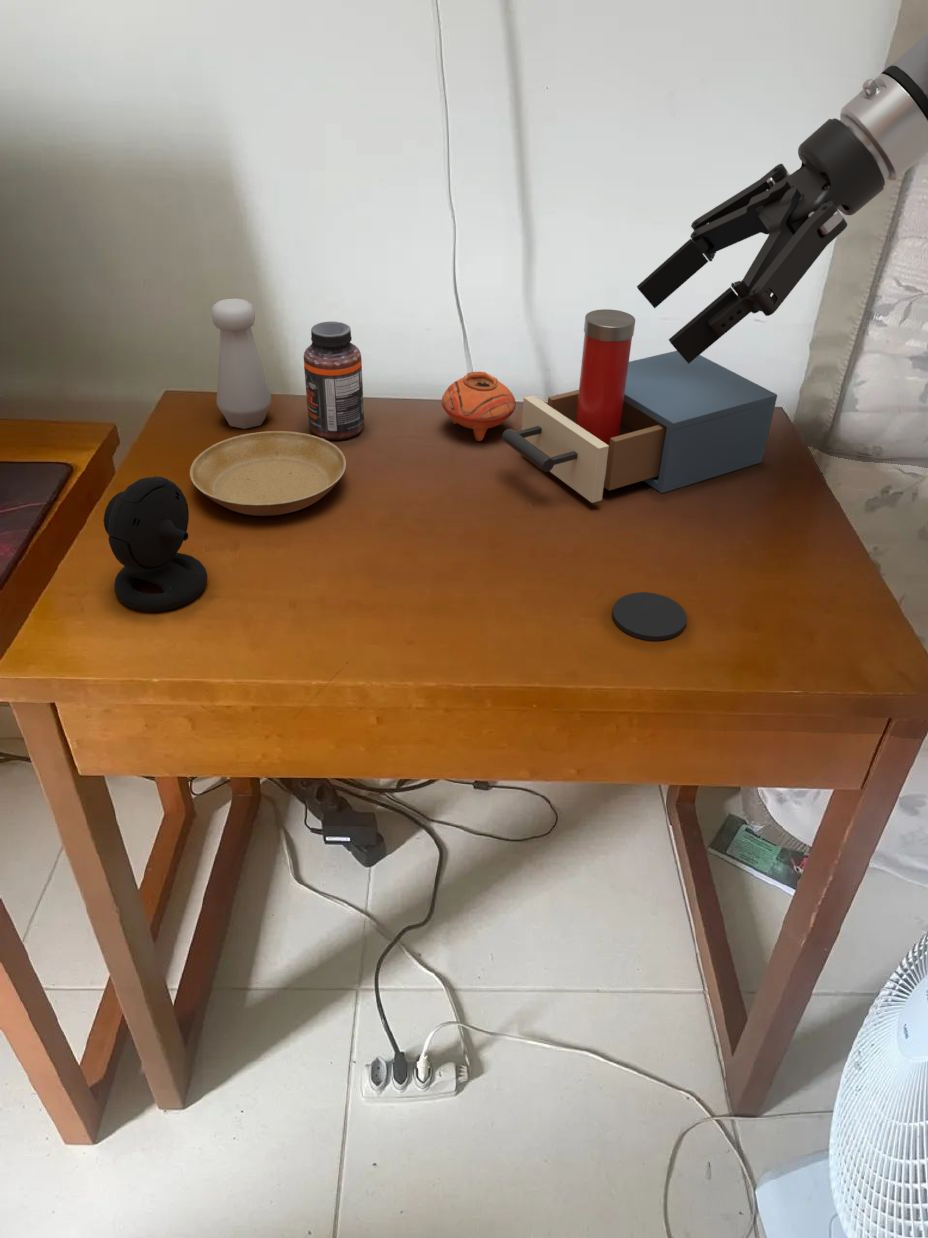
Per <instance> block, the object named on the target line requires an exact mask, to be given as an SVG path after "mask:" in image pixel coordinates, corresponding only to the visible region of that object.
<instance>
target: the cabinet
mask: <svg viewBox="0 0 928 1238" xmlns="http://www.w3.org/2000/svg"><path fill="white" fill-rule="evenodd" d="M777 398H778V394H777V393H775V392H773V391H771V390H769V389H767V388H765V387H763V386H761V385H759V384H757V383H756V382H753V381H752V380H750V379H748V378H745V377H744V376H742V375H740V374H738V373H736V372H734V371H732V370H730V369H728V368H727V367H724V366H722V365H721V364H719V363H716V362H714V361H713V360H711V359H708V358H707V357H705V356H703V355H701V354H700V355H699V356H697V357H696V358H695V359H694V360H693V361H691V362H690V363H689V364H688V363H687V361H686V360H685V359H684V358H683V357H682V356H681V354H680V353H679V352H678V351H677V350H674V351H670V352H665V353H660V354H657V355H656V354H655V355H652V356H647V357H644V358H638V359H635V360H629V364H628V372H627V379H626V387H625V394H624V402H626V403H628V404H629V405H631V406H633V407H634V408H636V409H638V410H639V411H641V412H642V413H644V414H646V415H647V416H649V417H651V418H652V419H654V420H656V421H657V422H659V423H661V424H662V425H664V426H665V427H667V429H666V436H665V442H664V448H663V454H662V460H661V466H660V472H659V476H656V477H653V478H650V479H646V480H643V481H642V482H644V483H646V484H647V485H648V486H650V487H651V488H653V489H654V490H655V491H657V492H658V493H660V494H664V493H667V492H670V491H671V492H672V491H674V490H677V489H680V488H684V487H687V486H690V485H693V484H696V483H699V482H703V481H706V480H709V479H712V478H716V477H719V476H722V475H726V474H728V473H732V472H735V471H738V470H742V469H745V468H748V467H751V466H754V465H757V464H761V463H763V459H764V455H765V450H766V446H767V442H768V437H769V435H770V434H769V433H770V428H771V426H772V425H771V424H772V421H773V417H774V412H775V408H776V405H777V404H776V403H777Z"/></svg>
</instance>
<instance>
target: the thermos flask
mask: <svg viewBox="0 0 928 1238" xmlns="http://www.w3.org/2000/svg"><path fill="white" fill-rule="evenodd" d="M635 326H636V318H635V316H634V315H632V314H631V313H628V312H625V311H623V310H617V309H607V308H606V309H605V308H604V309H595V310H591V311H589V312H587V313H586V314H585V317H584V326H583V332H584V336H583V344H582V345H583V346H582V354H581V355H582V356H581V365H580V375H579V386H578V390H579V394H578V403H577V413H576V424H577V425H579V426H580V427H582V428H583V429H585V430H586V431H588V432H589V433H591V434H592V435H594V436H595V437H597V438H598V439H600V440H601V441H603V442H604V443H606V444H607V445H610V438H612V437H616V436H619V432H620V424H621V417H622V409H623V402H624V394H625V387H626V379H627V372H628V364H629V362H630V357H631V356H630V355H631V348H632V341H633V340H632V339H633V337H634V335H635ZM608 452H609V448H608ZM607 460H608V456H607Z"/></svg>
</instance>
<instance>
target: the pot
mask: <svg viewBox="0 0 928 1238" xmlns="http://www.w3.org/2000/svg"><path fill="white" fill-rule="evenodd" d="M516 404H517V403H516V398H515V396H514V394H513V393H512V391H511V390H510V389H509V387H507V386H506V385H505V384H504V383H502V382H501V381H499V380H498V378H496V377H495V376H493V375H491V374H489V373H488V372H485V371H471V372H467V373H466V374H465V375H464V376H463V377H460V378H459V379H457V380H455V381H454V382H453V383H451V384H450V385H449V386H448V387H447V388H446V389H445V391H444V392H443V394H442V398H441V406H442V408H443V410H444V411H445V413H446V414H447V415H448V416H449V417H450V418H451V421H452V423H453V424H454V425H456V424H458V425H460V426H462V427H464V428H468V429H472V432H473V435H474V438H475V441H476V442H480V441H483V439H484V438H485V436H486V432H487V431H488V429H491V428H495V427H497V426H502V425H503V423H504V422H505V421H506V420H509V418H510V417H511V416H512V414H513V413H514V412H515V410H516V407H517V406H516Z"/></svg>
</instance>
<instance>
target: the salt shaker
mask: <svg viewBox="0 0 928 1238" xmlns="http://www.w3.org/2000/svg"><path fill="white" fill-rule="evenodd" d="M254 307H255V306H254V305H253V304H251V303H250V302H249V301H247V299H242V298H225V299H222V300H218V301H217V302H215V304H214V305H213V306H212V309H211V319H212V324H213V325H214V327H216V328H217V329H218V330H219V347H218V348H219V349H218V370H217V371H218V372H217V387H216V406H217V409H218V410H219V411H220V413H221V414H222V415H223V416H224V418H225V420H226V421H227V423H228V425H229V427H234V428H239V429H244V430H246V429H251V428H255V427H259V426H261V425H262V424H263V423H264V421H265V419H266V417H267V414H268V412H269V410H270V407H271V403H272V393H271V391H270V387H269V384H268V380H267V377H266V374H265V371H264V366H263V364H262V360H261V357H260V354H259V351H258V347H257V344H256V339H255V336H254V334H253V331H252V327H253V326H255V322H256V311H255V308H254Z"/></svg>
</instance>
